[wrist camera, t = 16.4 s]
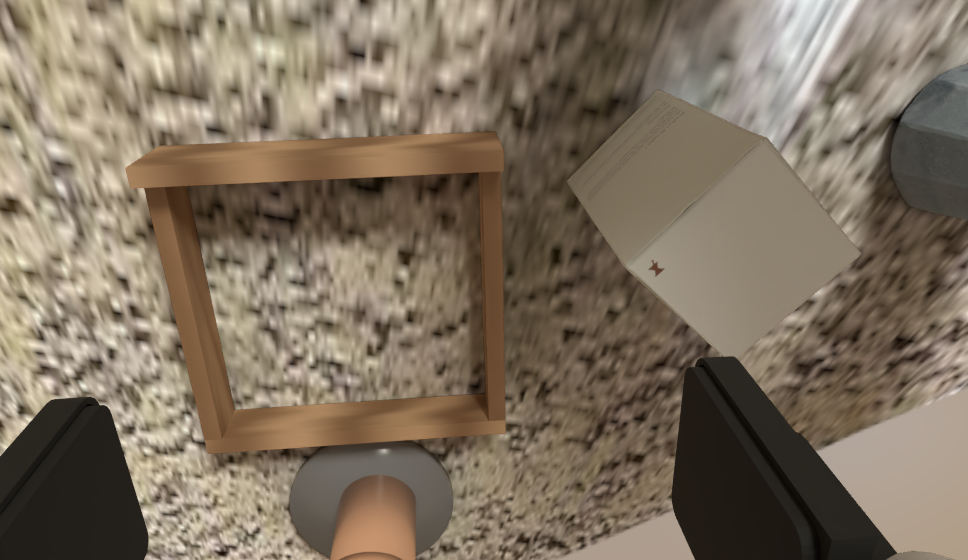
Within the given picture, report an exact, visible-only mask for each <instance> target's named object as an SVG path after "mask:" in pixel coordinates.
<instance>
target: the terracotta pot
mask: <svg viewBox="0 0 968 560" xmlns="http://www.w3.org/2000/svg"><path fill="white" fill-rule="evenodd" d="M415 558H416V498H415V495H414V493H413V491H412V490H411V489H410V487H409V486H408V485H406V484H405V483H404V482H402V481H401V480H399V479H396V478H394V477H390V476H385V475H371V476H366V477H363V478H360V479H358V480H356V481H354V482H353V483H351V484H350V485H349V486H348V487H347V488H346V489H345V490H344V492H343V493H342V495H341V498H340V503H339V509H338V515H337V521H336V527H335V533H334V539H333V545H332V552H331V558H330V560H415Z"/></svg>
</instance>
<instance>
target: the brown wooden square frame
mask: <svg viewBox="0 0 968 560" xmlns="http://www.w3.org/2000/svg"><path fill="white" fill-rule="evenodd" d="M125 169H126V173H127V177H128V181H129V185H130V188H144V189H145V193H146V198H147V202H148V206H149V210H150V214H151V218H152V223H153V227H154V231H155V235H156V239H157V243H158V248H159V252H160V256H161V260H162V264H163V268H164V273H165V277H166V281H167V285H168V289H169V293H170V298H171V302H172V306H173V310H174V314H175V318H176V323H177V327H178V331H179V335H180V339H181V343H182V348H183V352H184V356H185V360H186V364H187V368H188V372H189V377H190V381H191V385H192V389H193V393H194V397H195V402H196V406H197V410H198V414H199V418H200V422H201V427H202V431H203V435H204V439H205V443H206V447H207V452H208V454H215V453H229V452H244V451H258V450H273V449H287V448H302V447H316V446H330V445H345V444H359V443H374V442H388V441H403V440H417V439H432V438H446V437H461V436H475V435H490V434H504V433H506V428H505V366H504V304H503V243H502V181H501V171H504V150H503V148H502V145H501V143H500V141H499V139H498V136H497V134H496V132H472V133H449V134H426V135H403V136H379V137H356V138H333V139H309V140H286V141H263V142H239V143H216V144H193V145H169V146H158V147H157V148H155V149H154V150H152V151H151V152H149V153H148V154H146V155H145V156H143V157H141V158H140V159H138V160H137V161H135V162H134V163H132V164H131V165H129V166H128V167H126V168H125ZM475 172H479V204H480V237H481V270H482V303H483V336H484V369H485V394H471V395H455V396H440V397H425V398H410V399H394V400H379V401H364V402H348V403H333V404H318V405H303V406H287V407H272V408H257V409H242V410H235V409H234V404H233V399H232V395H231V390H230V385H229V381H228V376H227V371H226V367H225V362H224V357H223V353H222V348H221V343H220V338H219V334H218V329H217V324H216V320H215V315H214V310H213V306H212V301H211V296H210V291H209V287H208V282H207V277H206V273H205V268H204V263H203V259H202V254H201V249H200V245H199V240H198V235H197V230H196V226H195V221H194V216H193V212H192V207H191V202H190V198H189V193H188V188H187V186H195V185H216V184H238V183H260V182H281V181H303V180H324V179H346V178H367V177H389V176H411V175H432V174H454V173H475Z"/></svg>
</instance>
